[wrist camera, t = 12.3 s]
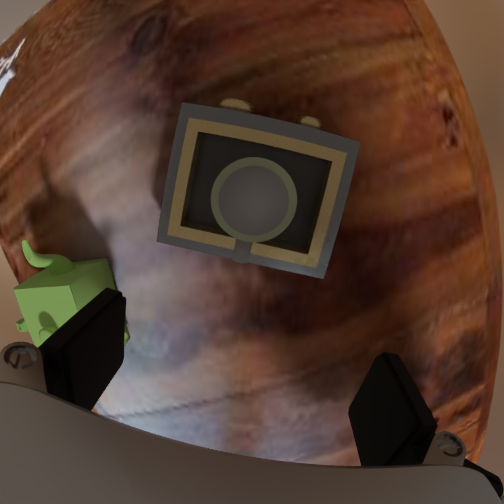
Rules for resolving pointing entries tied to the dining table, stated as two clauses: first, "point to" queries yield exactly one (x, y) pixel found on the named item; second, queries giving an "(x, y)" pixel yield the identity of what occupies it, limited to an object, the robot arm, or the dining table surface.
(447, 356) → the dining table surface
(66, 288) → the kettle
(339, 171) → the toy stove
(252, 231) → the pale green cup
